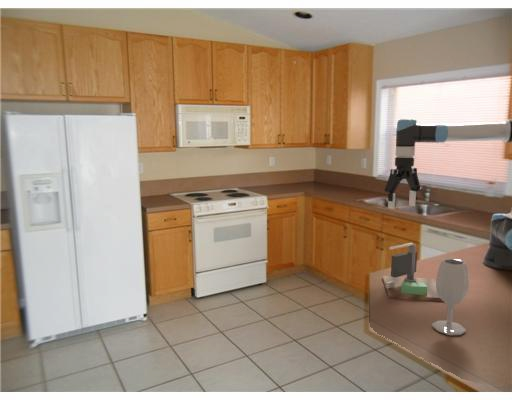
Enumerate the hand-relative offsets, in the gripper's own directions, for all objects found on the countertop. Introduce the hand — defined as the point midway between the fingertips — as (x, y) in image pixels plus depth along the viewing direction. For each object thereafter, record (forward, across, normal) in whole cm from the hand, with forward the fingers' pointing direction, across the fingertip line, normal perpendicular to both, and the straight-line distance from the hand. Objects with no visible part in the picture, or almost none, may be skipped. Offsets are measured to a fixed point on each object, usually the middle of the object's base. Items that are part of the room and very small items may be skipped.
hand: (401, 207), depth 174 cm
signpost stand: (+25, +18, +16) cm, 35 cm away
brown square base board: (+27, +16, +20) cm, 37 cm away
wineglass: (+27, +34, +46) cm, 64 cm away
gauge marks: (+25, +22, +22) cm, 40 cm away
